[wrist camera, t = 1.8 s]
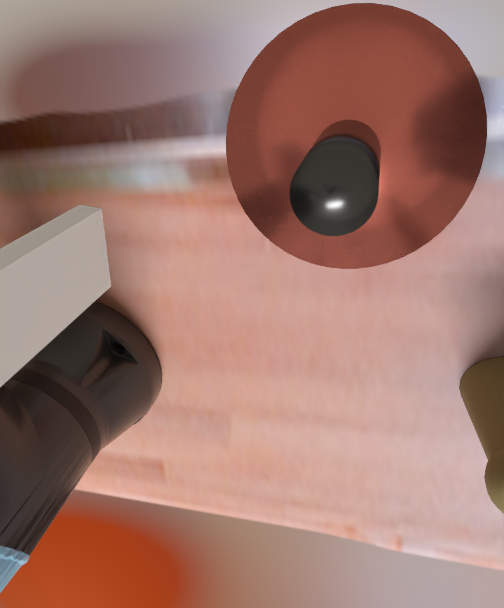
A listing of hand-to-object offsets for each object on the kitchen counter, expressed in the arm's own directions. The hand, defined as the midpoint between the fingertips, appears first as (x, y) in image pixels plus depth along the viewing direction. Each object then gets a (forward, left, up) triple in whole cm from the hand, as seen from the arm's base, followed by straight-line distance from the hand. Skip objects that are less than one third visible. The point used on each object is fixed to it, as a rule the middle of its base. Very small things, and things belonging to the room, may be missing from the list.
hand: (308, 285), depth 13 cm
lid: (0, 0, -20) cm, 20 cm away
